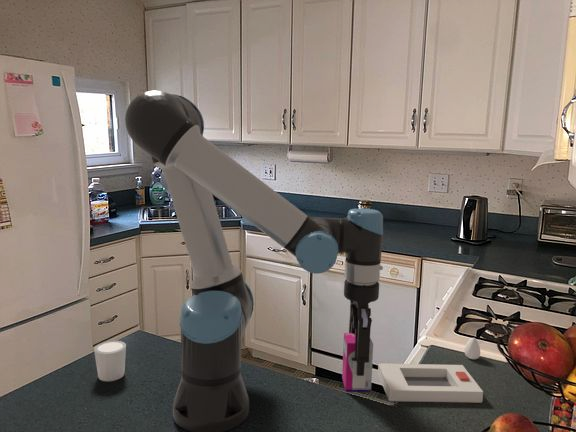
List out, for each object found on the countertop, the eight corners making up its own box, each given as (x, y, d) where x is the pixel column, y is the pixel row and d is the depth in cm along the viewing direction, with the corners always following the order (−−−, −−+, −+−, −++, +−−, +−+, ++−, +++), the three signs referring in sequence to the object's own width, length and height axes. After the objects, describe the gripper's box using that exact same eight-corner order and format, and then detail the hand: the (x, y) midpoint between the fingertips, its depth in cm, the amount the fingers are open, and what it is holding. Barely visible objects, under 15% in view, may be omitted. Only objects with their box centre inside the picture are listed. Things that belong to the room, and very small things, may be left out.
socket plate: (388, 401, 102) (389, 387, 101) (377, 373, 113) (378, 361, 113) (482, 402, 102) (483, 389, 101) (461, 374, 114) (462, 362, 113)
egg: (474, 354, 125) (476, 334, 124) (482, 361, 121) (484, 340, 120) (461, 355, 124) (463, 335, 123) (468, 361, 121) (470, 341, 120)
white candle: (133, 371, 112) (132, 343, 110) (112, 385, 105) (111, 355, 104) (110, 365, 114) (109, 338, 113) (88, 378, 108) (87, 349, 107)
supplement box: (366, 378, 111) (369, 332, 108) (371, 392, 105) (374, 343, 103) (341, 378, 110) (343, 331, 108) (344, 392, 105) (347, 343, 102)
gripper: (388, 295, 94) (381, 403, 98) (371, 268, 113) (365, 360, 117) (350, 294, 94) (344, 402, 98) (339, 267, 113) (335, 359, 116)
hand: (356, 379), depth 107 cm, fingers closed on supplement box, 6 cm apart
